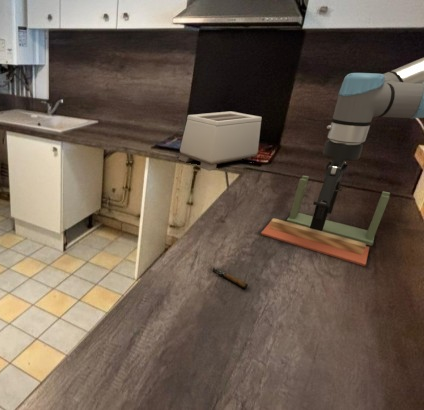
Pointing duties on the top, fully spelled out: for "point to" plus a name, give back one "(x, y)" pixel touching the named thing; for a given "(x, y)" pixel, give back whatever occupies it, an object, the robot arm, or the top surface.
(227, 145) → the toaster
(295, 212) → the rack
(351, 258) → the mat
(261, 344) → the top surface
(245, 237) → the top surface
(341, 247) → the hanger bar
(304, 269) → the top surface
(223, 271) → the can opener
